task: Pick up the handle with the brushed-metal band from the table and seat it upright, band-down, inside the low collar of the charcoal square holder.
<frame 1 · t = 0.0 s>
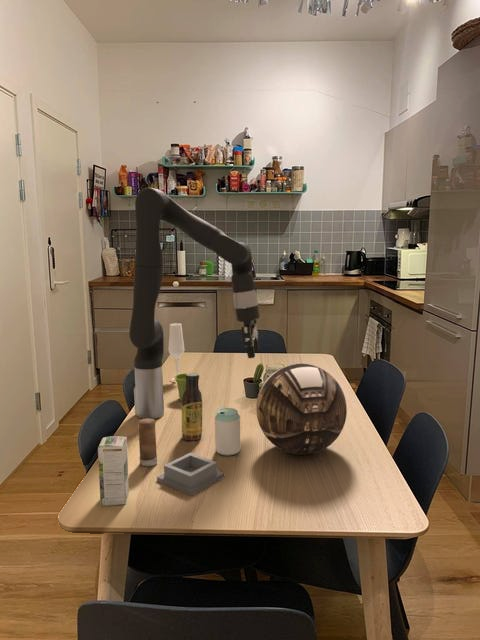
hand: (253, 354, 162), 22 cm above the table, tool pointing down, fingers open, 8 cm apart
sphere: (300, 451, 143), on the table
sauce bottle: (192, 438, 153), on the table
plant pot: (187, 399, 189), on the table
holder: (191, 478, 128), on the table
champagne flute: (177, 380, 212), on the table
syrup box: (115, 500, 118), on the table
handle: (148, 463, 136), on the table
can: (228, 452, 143), on the table
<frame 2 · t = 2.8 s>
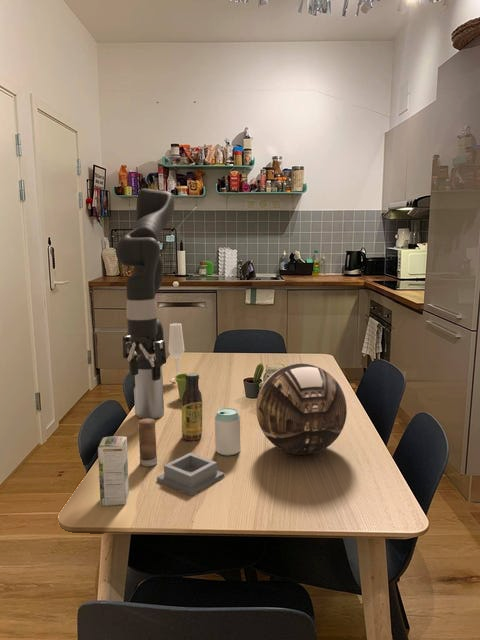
hand: (145, 377, 132), 24 cm above the table, tool pointing down, fingers open, 8 cm apart
nothing on the table moved.
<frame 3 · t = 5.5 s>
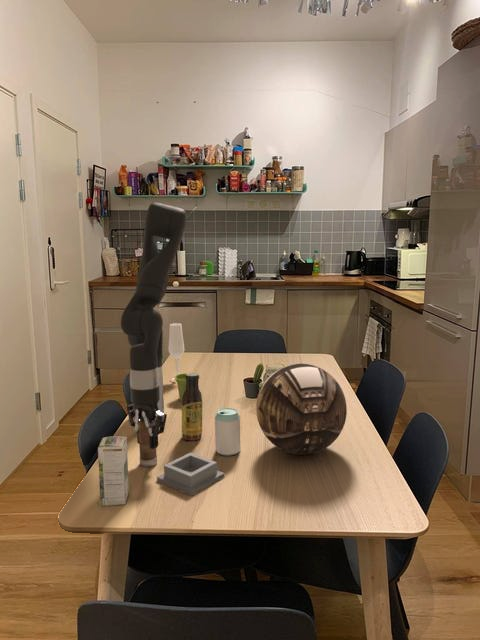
hand: (147, 445, 135), 5 cm above the table, tool pointing down, fingers closed on handle, 4 cm apart
handle: (148, 463, 136), on the table, touching gripper
everything else where it was.
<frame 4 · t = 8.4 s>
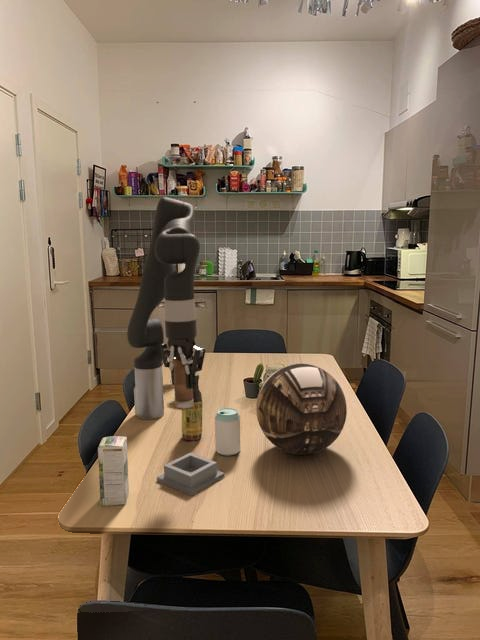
hand: (183, 386, 124), 24 cm above the table, tool pointing down, fingers closed on handle, 4 cm apart
handle: (184, 406, 125), point 19 cm above the table, touching gripper
everything else where it was.
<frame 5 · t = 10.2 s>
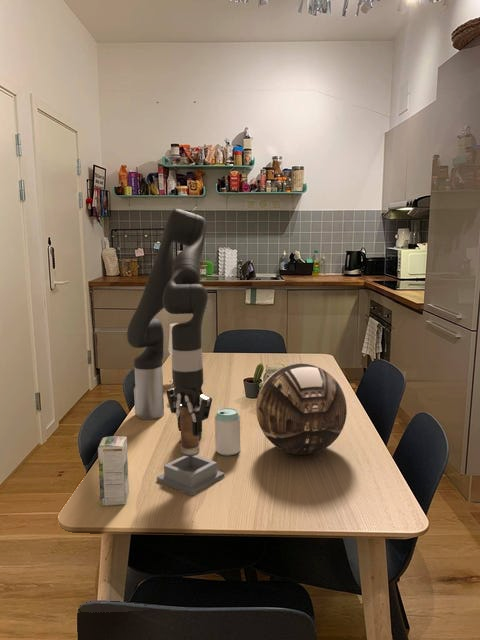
hand: (189, 432, 126), 12 cm above the table, tool pointing down, fingers closed on handle, 4 cm apart
handle: (190, 452, 126), point 7 cm above the table, touching gripper
everything else where it was.
when the fingers open (8 cm above the table, at t = 11.5 s): handle drops 1 cm, resting on holder.
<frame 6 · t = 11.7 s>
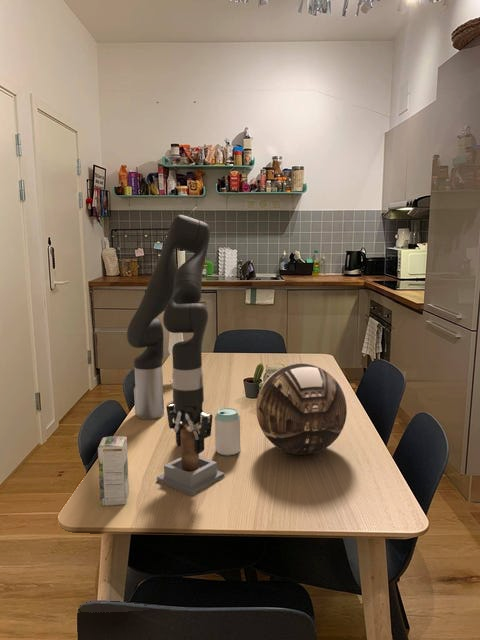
hand: (190, 448, 126), 8 cm above the table, tool pointing down, fingers open, 6 cm apart
handle: (190, 474, 127), point 1 cm above the table, touching holder
everything else where it was.
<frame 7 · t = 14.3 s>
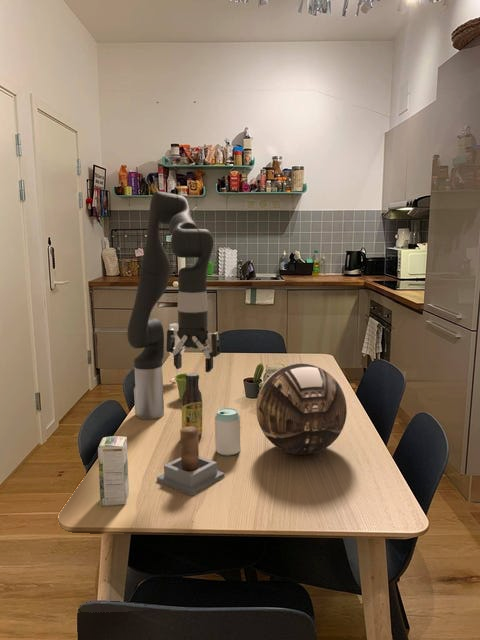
hand: (193, 369, 131), 26 cm above the table, tool pointing down, fingers open, 8 cm apart
nothing on the table moved.
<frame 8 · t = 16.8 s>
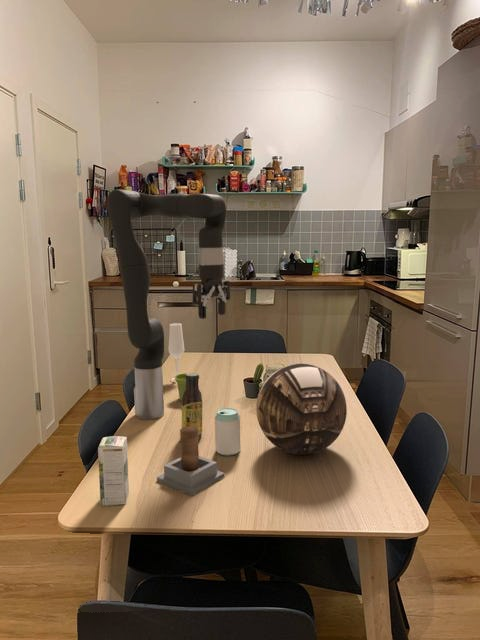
hand: (212, 316, 153), 36 cm above the table, tool pointing down, fingers open, 8 cm apart
nothing on the table moved.
at the end: handle 0.1 cm off-centre on the holder, point 1.0 cm above the holder's base; handle tilted 0°; the gripper is holding nothing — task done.
